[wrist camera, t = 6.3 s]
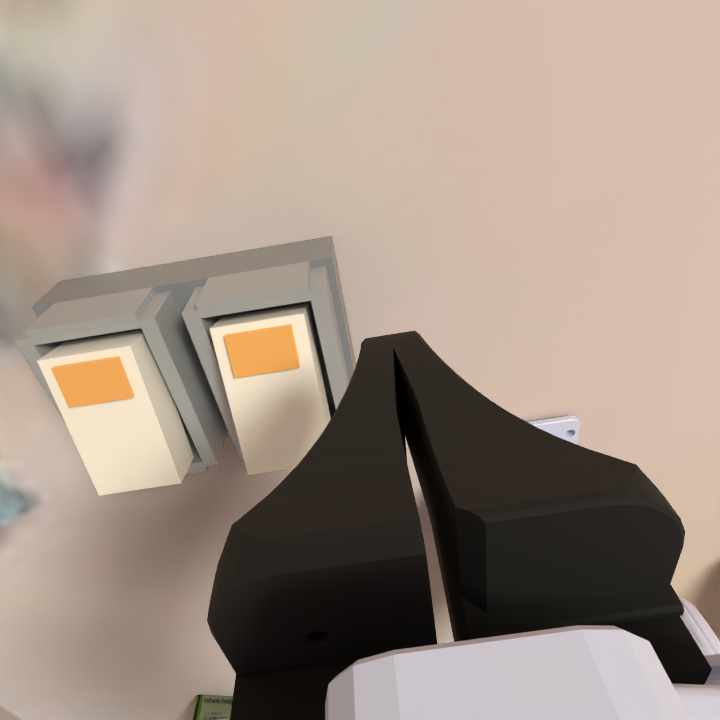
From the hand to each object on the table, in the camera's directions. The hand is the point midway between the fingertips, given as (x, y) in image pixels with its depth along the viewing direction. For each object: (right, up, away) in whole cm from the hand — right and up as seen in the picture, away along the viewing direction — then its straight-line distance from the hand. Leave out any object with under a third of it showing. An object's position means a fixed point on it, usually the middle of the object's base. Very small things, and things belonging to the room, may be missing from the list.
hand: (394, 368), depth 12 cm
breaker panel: (-7, +1, +11) cm, 13 cm away
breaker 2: (-4, -1, +7) cm, 8 cm away
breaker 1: (-10, -2, +7) cm, 13 cm away
